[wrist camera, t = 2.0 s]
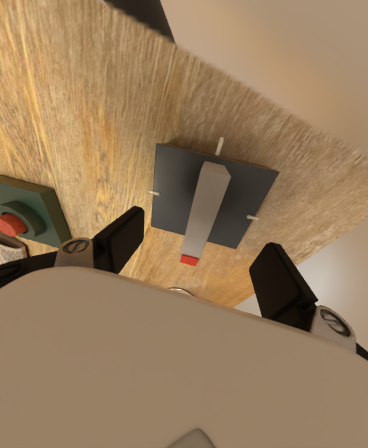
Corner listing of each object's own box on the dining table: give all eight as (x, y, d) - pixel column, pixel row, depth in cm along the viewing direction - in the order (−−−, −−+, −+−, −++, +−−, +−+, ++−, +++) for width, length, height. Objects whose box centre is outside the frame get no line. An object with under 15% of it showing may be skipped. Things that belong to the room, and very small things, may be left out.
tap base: (161, 125, 14) (150, 121, 12) (282, 152, 14) (298, 154, 11) (154, 223, 22) (145, 234, 19) (232, 244, 21) (235, 259, 18)
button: (2, 210, 21) (-14, 215, 20) (22, 215, 21) (8, 221, 20) (13, 228, 23) (0, 233, 22) (32, 233, 23) (20, 239, 22)
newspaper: (40, 298, 50) (29, 308, 47) (7, 284, 48) (-7, 293, 45) (26, 241, 31) (6, 251, 28) (-30, 214, 30) (-56, 222, 27)
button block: (-1, 174, 22) (-38, 180, 19) (54, 188, 22) (24, 197, 18) (31, 230, 29) (7, 242, 25) (73, 242, 28) (55, 256, 25)
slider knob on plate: (204, 160, 13) (200, 169, 8) (224, 165, 13) (231, 177, 8) (186, 233, 18) (177, 262, 13) (200, 237, 17) (197, 268, 13)
